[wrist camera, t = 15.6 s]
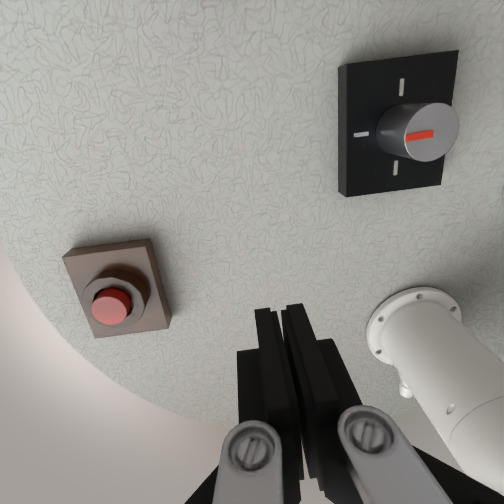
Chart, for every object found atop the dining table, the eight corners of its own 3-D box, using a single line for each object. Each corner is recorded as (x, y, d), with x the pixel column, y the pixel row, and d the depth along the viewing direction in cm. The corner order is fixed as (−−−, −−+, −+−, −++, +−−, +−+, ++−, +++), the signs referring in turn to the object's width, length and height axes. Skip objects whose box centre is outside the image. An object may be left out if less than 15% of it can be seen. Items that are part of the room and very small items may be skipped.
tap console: (427, 180, 35) (441, 185, 32) (338, 191, 35) (346, 197, 32) (441, 54, 30) (460, 49, 28) (337, 67, 30) (347, 63, 27)
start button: (135, 313, 35) (130, 322, 34) (103, 317, 35) (97, 327, 34) (126, 285, 34) (121, 294, 32) (92, 290, 34) (86, 298, 32)
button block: (171, 317, 40) (166, 338, 36) (101, 327, 40) (88, 348, 36) (150, 238, 36) (141, 252, 32) (71, 248, 35) (52, 264, 32)
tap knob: (422, 100, 29) (465, 98, 24) (419, 149, 31) (458, 157, 26) (375, 108, 29) (407, 107, 24) (375, 156, 31) (405, 166, 26)
